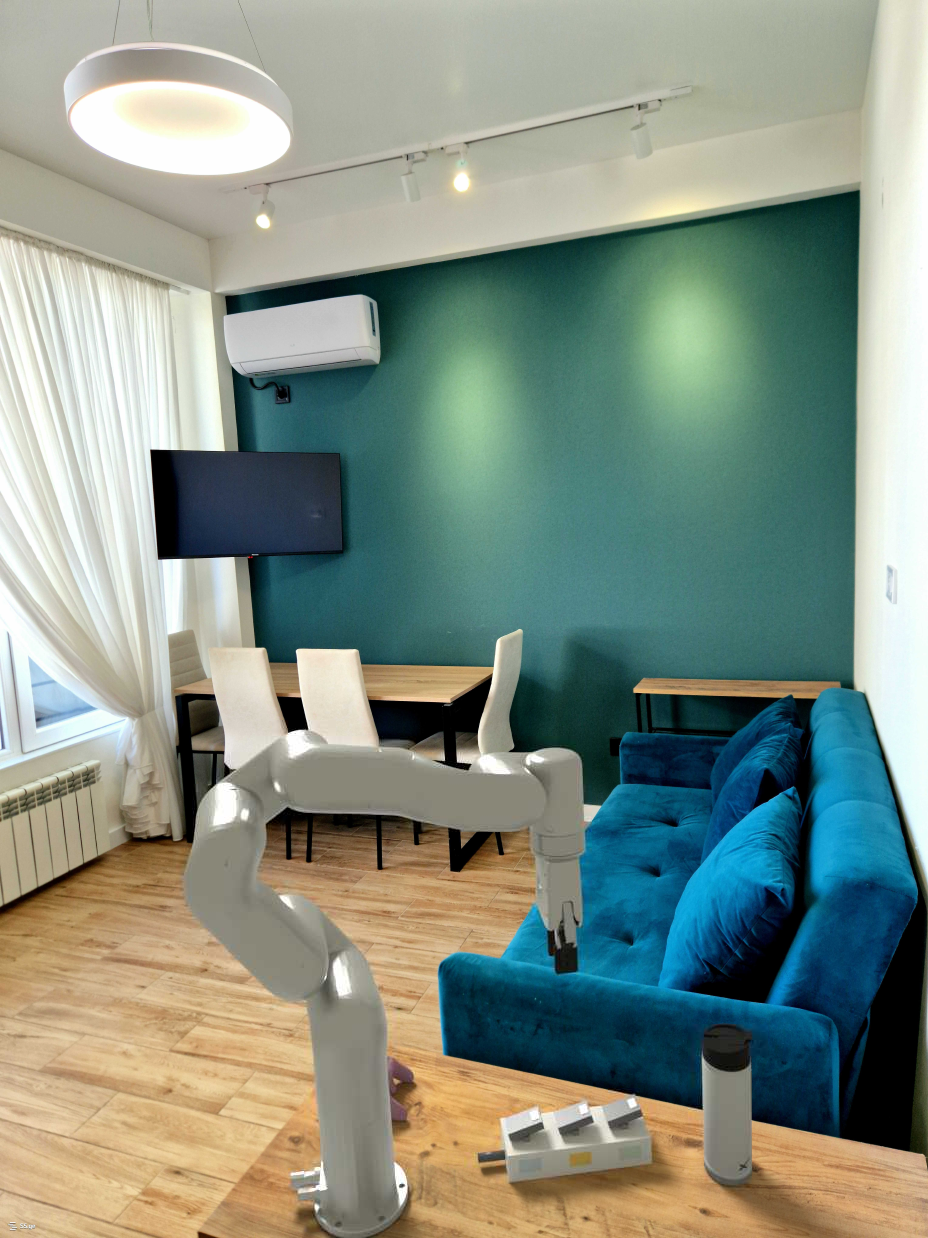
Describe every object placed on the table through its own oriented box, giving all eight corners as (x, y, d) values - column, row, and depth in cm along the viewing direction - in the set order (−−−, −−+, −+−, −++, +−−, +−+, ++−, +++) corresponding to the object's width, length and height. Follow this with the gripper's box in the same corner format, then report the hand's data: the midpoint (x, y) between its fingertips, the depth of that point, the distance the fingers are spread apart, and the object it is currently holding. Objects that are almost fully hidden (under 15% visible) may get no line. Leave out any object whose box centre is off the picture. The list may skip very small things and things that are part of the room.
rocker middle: (560, 1135, 113) (557, 1128, 112) (555, 1119, 116) (553, 1112, 115) (594, 1122, 113) (591, 1115, 113) (588, 1107, 116) (586, 1099, 116)
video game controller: (393, 1087, 133) (371, 1053, 132) (417, 1076, 132) (395, 1040, 131) (383, 1134, 123) (360, 1096, 122) (409, 1121, 122) (386, 1083, 122)
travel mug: (758, 1190, 107) (756, 1051, 104) (706, 1185, 108) (703, 1047, 106) (751, 1153, 113) (749, 1021, 111) (702, 1148, 115) (699, 1017, 112)
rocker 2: (609, 1129, 113) (607, 1121, 113) (603, 1113, 116) (601, 1106, 116) (643, 1116, 114) (640, 1108, 113) (636, 1101, 117) (634, 1093, 116)
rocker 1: (510, 1142, 112) (507, 1134, 112) (507, 1126, 115) (504, 1118, 115) (544, 1129, 112) (541, 1121, 112) (540, 1113, 115) (537, 1105, 115)
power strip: (481, 1187, 110) (479, 1156, 109) (475, 1147, 117) (473, 1117, 117) (652, 1164, 112) (651, 1133, 112) (636, 1126, 119) (635, 1097, 119)
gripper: (520, 819, 120) (526, 936, 122) (542, 867, 103) (548, 1001, 106) (570, 814, 120) (575, 930, 123) (600, 862, 104) (604, 995, 106)
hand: (562, 962), depth 114 cm, fingers open, 3 cm apart
